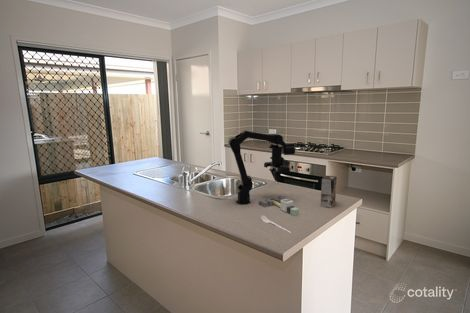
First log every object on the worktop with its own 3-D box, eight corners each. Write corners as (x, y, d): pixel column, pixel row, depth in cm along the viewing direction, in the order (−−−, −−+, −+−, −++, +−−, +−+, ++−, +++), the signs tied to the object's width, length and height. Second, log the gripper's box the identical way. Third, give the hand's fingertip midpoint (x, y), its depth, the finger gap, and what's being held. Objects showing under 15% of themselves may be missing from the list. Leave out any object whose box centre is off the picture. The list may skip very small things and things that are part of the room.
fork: (288, 235, 128) (288, 231, 128) (259, 219, 144) (259, 216, 144) (293, 233, 130) (293, 229, 130) (264, 218, 146) (264, 214, 145)
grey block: (280, 209, 156) (280, 199, 155) (287, 207, 159) (287, 198, 158) (286, 212, 152) (286, 202, 151) (293, 210, 154) (293, 201, 153)
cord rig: (259, 204, 165) (259, 199, 164) (280, 199, 172) (280, 194, 172) (284, 218, 145) (284, 212, 144) (307, 212, 152) (308, 206, 152)
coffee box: (331, 208, 158) (333, 180, 155) (320, 206, 161) (321, 178, 158) (335, 203, 165) (337, 176, 162) (324, 201, 169) (325, 174, 166)
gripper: (297, 156, 161) (297, 183, 164) (278, 151, 178) (278, 175, 181) (281, 158, 156) (281, 185, 159) (263, 153, 173) (263, 178, 176)
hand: (276, 181), depth 169 cm, fingers closed
